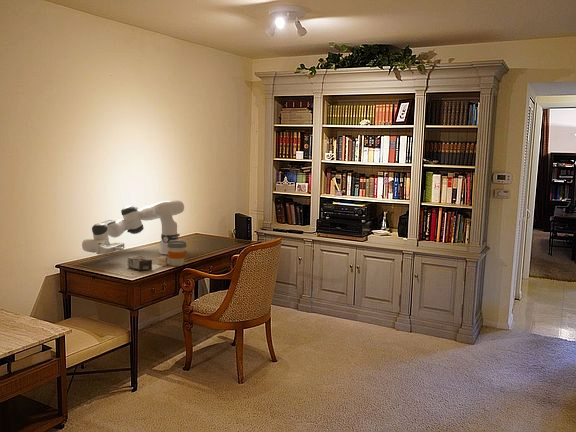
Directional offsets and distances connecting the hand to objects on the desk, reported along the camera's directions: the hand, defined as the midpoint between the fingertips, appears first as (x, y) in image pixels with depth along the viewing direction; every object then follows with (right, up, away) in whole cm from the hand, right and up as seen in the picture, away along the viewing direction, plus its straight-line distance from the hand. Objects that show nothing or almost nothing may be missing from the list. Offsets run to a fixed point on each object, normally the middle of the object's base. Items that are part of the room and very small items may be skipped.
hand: (122, 248), depth 345 cm
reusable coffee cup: (+34, -11, +7) cm, 37 cm away
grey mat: (+18, -12, -3) cm, 22 cm away
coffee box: (+8, -8, -2) cm, 11 cm away
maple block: (+25, -11, +6) cm, 28 cm away
